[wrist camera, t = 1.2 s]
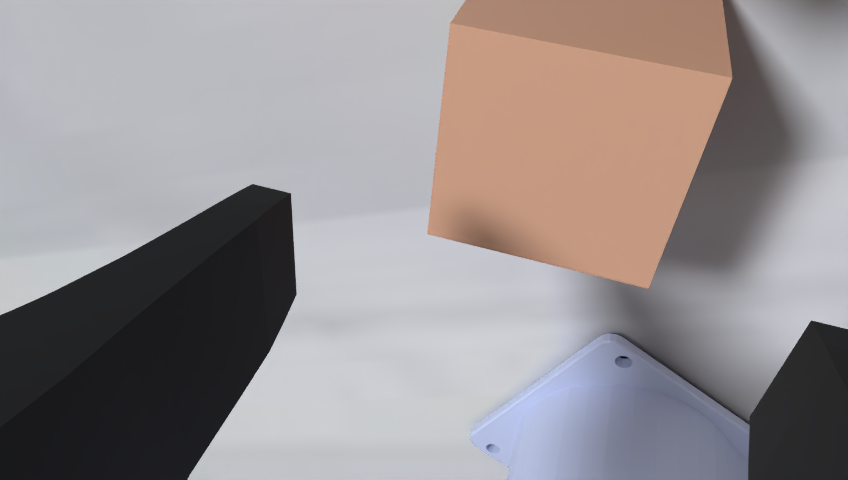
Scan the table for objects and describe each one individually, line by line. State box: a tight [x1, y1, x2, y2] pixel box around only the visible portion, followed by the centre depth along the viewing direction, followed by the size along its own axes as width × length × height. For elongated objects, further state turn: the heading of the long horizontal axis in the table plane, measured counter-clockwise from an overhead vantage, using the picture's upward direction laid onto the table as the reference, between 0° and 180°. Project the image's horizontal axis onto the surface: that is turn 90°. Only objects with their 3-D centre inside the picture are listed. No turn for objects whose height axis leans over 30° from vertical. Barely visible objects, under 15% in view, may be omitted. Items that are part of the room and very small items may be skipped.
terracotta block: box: [428, 0, 733, 289], centre depth 15 cm, size 5×5×5 cm
